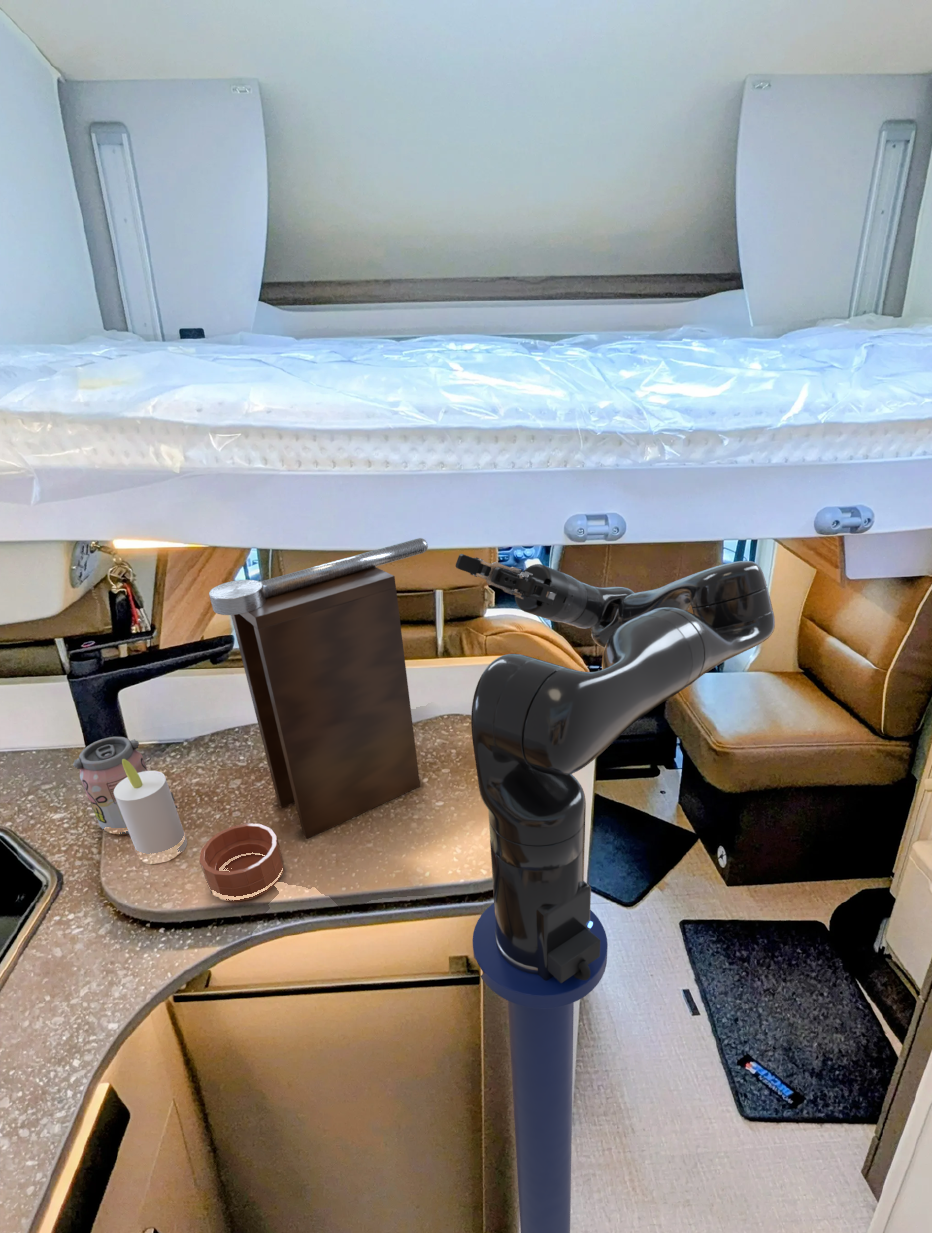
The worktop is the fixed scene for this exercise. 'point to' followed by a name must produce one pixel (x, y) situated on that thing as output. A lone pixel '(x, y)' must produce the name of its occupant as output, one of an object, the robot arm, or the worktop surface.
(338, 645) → the shelf
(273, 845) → the bowl
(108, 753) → the beverage can
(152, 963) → the worktop surface
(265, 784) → the worktop surface
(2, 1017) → the worktop surface
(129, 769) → the candle
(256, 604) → the ladle
